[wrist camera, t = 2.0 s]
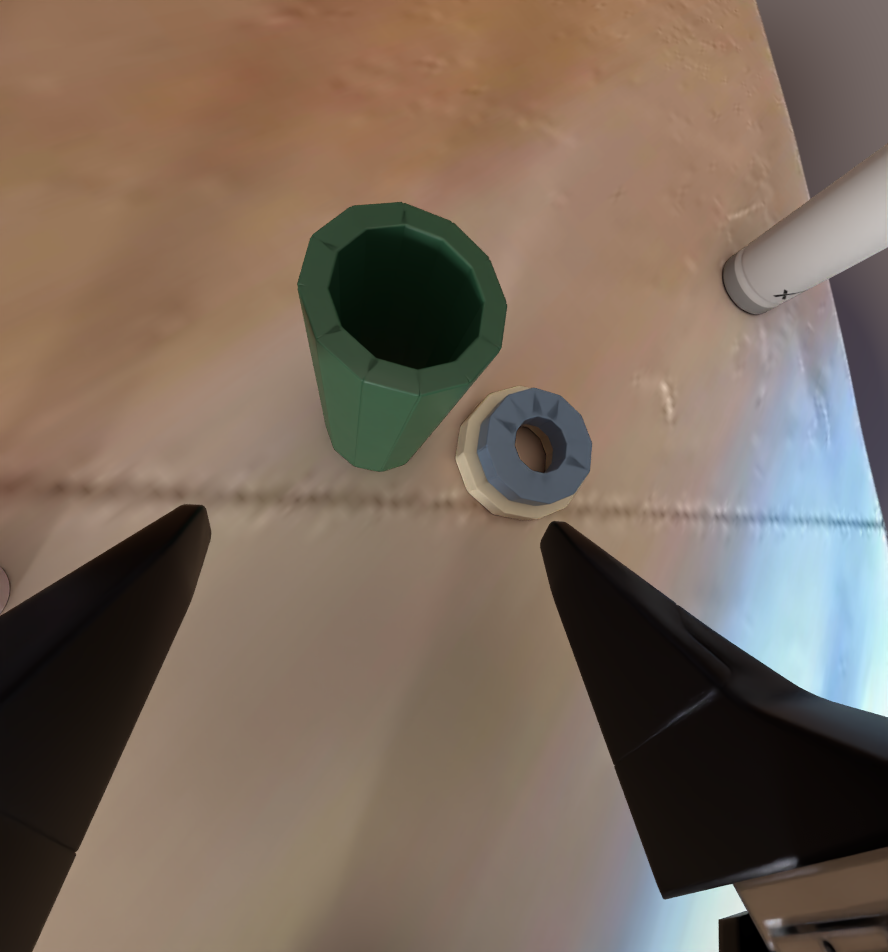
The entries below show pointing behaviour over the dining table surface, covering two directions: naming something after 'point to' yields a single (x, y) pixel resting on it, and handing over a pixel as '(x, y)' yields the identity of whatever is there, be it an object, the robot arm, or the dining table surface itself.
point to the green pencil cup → (395, 326)
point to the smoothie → (3, 589)
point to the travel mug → (814, 240)
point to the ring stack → (497, 462)
